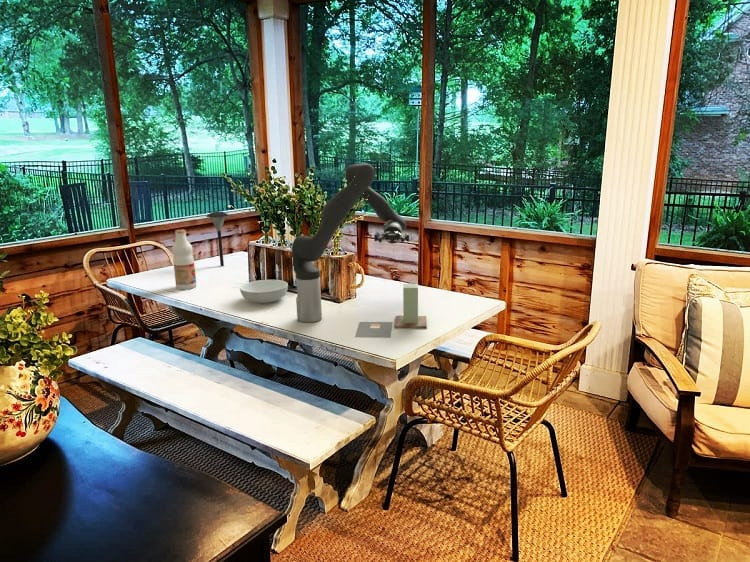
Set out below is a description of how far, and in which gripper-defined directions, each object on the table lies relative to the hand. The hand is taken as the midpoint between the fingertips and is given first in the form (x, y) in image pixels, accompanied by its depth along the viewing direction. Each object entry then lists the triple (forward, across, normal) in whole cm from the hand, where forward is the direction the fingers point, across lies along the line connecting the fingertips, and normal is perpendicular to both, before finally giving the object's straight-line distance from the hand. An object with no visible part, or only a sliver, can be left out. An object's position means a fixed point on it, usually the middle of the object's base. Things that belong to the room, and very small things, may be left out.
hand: (391, 240), depth 225 cm
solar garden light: (-78, -98, +30) cm, 129 cm away
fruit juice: (-35, -101, +30) cm, 111 cm away
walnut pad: (+14, +8, +30) cm, 34 cm away
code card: (+21, -5, +30) cm, 37 cm away
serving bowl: (-15, -57, +30) cm, 66 cm away
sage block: (+14, +8, +29) cm, 33 cm away
